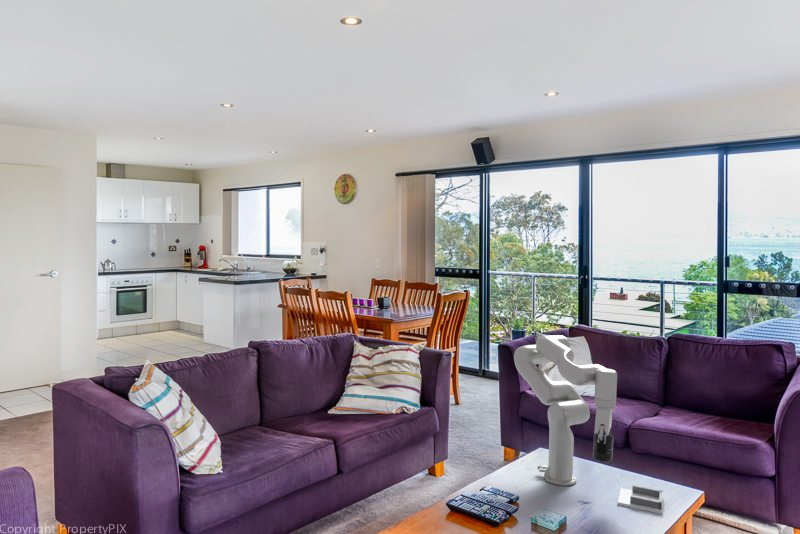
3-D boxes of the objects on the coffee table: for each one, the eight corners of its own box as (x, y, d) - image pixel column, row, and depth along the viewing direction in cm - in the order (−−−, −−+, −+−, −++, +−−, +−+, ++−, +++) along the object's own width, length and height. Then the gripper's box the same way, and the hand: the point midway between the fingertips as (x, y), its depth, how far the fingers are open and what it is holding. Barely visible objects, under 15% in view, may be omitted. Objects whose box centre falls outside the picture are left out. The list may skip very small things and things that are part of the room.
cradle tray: (617, 504, 212) (617, 495, 212) (620, 490, 225) (621, 481, 225) (662, 514, 206) (662, 504, 206) (663, 498, 219) (663, 489, 218)
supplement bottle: (613, 463, 210) (615, 430, 209) (593, 461, 211) (595, 428, 211) (611, 456, 217) (612, 424, 216) (591, 454, 218) (593, 422, 217)
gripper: (597, 395, 222) (595, 441, 223) (590, 406, 207) (588, 456, 208) (618, 398, 219) (616, 445, 220) (612, 410, 204) (610, 460, 204)
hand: (602, 449), depth 214 cm, fingers closed on supplement bottle, 6 cm apart
